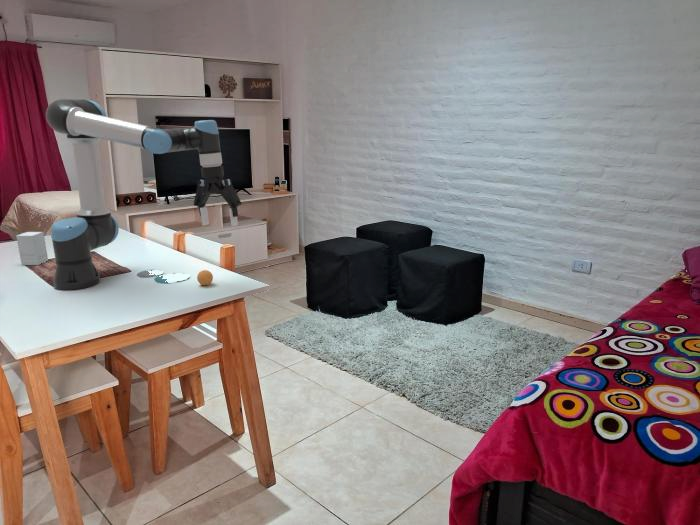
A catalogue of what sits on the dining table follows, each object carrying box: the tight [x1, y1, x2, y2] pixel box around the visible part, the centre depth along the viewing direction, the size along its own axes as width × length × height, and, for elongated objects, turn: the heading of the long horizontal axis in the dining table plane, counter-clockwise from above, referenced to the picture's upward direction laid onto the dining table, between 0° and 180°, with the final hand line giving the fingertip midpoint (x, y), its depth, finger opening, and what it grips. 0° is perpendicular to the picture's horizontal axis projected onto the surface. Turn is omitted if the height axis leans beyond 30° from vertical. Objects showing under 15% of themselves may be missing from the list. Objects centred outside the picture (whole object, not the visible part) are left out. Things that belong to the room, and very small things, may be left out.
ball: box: [196, 269, 214, 286], centre depth 193 cm, size 6×6×6 cm
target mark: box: [153, 276, 169, 284], centre depth 202 cm, size 13×13×1 cm
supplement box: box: [15, 231, 49, 266], centre depth 222 cm, size 7×7×13 cm
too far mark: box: [136, 269, 157, 278], centre depth 208 cm, size 10×10×1 cm
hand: (220, 225), depth 193 cm, fingers open, 13 cm apart
